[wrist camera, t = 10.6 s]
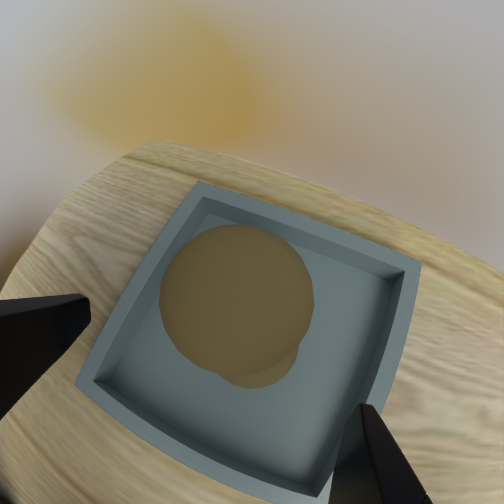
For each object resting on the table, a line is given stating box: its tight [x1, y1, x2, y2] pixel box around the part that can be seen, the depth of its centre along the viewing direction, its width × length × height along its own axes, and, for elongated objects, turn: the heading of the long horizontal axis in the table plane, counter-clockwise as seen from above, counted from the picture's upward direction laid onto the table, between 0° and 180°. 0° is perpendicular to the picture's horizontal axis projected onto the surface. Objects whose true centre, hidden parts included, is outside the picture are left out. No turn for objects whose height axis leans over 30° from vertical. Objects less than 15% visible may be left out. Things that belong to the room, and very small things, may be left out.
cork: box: [159, 224, 315, 389], centre depth 13 cm, size 6×6×11 cm
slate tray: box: [74, 181, 422, 504], centre depth 17 cm, size 18×18×3 cm
